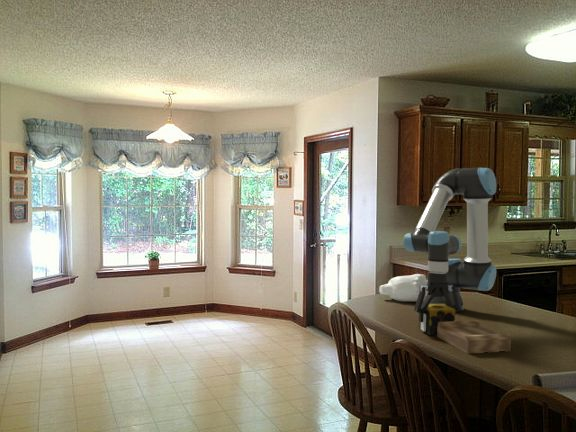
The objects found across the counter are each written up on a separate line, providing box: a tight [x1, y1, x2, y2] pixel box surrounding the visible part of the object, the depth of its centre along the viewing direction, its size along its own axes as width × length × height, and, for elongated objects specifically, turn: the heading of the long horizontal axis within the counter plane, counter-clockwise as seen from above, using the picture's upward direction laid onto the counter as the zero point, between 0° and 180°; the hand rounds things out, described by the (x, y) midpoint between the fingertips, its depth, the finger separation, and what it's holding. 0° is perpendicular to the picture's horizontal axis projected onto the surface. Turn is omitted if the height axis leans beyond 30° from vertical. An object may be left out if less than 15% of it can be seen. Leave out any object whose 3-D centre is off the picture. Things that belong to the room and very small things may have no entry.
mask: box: [378, 273, 428, 303], centre depth 247 cm, size 14×14×25 cm
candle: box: [418, 304, 456, 337], centre depth 188 cm, size 10×10×10 cm
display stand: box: [436, 319, 512, 355], centre depth 174 cm, size 16×20×6 cm
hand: (436, 329), depth 189 cm, fingers closed on candle, 10 cm apart
